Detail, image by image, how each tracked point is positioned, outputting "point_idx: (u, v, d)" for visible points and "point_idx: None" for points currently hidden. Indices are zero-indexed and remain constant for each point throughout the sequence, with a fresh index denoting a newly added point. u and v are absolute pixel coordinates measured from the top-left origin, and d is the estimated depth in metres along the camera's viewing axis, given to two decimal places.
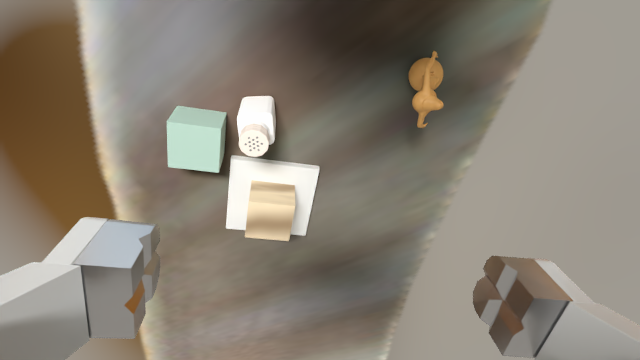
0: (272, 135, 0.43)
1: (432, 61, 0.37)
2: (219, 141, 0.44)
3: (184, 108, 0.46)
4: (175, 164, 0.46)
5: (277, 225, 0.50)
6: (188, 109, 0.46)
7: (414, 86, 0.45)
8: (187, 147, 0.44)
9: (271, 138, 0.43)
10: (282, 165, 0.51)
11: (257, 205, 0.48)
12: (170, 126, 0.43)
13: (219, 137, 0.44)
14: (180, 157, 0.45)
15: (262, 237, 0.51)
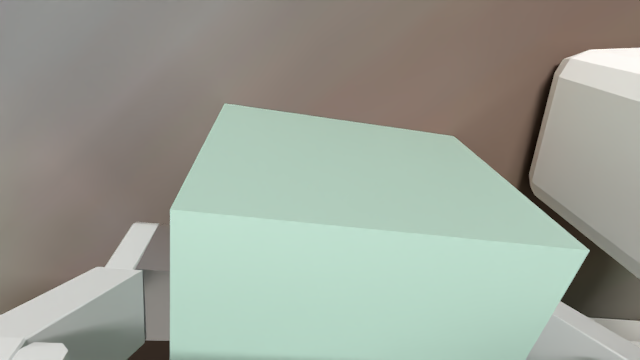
0: None
1: None
2: (535, 328, 0.06)
3: (264, 117, 0.09)
4: None
5: None
6: (285, 122, 0.09)
7: None
8: None
9: None
10: None
11: None
12: (203, 244, 0.05)
13: (550, 306, 0.06)
14: None
15: None
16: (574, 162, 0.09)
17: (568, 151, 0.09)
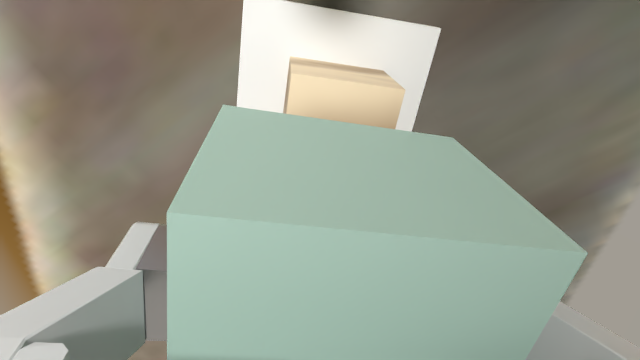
0: None
1: None
2: (533, 331, 0.06)
3: (262, 118, 0.09)
4: None
5: None
6: (284, 123, 0.09)
7: None
8: None
9: None
10: (360, 16, 0.23)
11: (313, 84, 0.19)
12: (200, 247, 0.05)
13: (548, 309, 0.06)
14: None
15: None
16: None
17: None
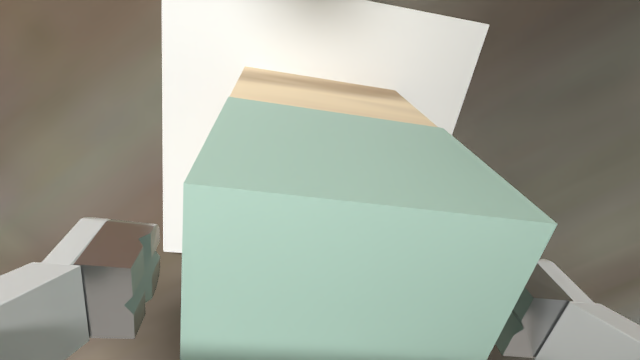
0: None
1: None
2: (511, 298, 0.07)
3: (265, 109, 0.09)
4: None
5: None
6: (285, 113, 0.09)
7: None
8: (308, 340, 0.07)
9: None
10: (360, 2, 0.14)
11: None
12: (211, 215, 0.06)
13: (523, 276, 0.07)
14: None
15: None
16: None
17: None
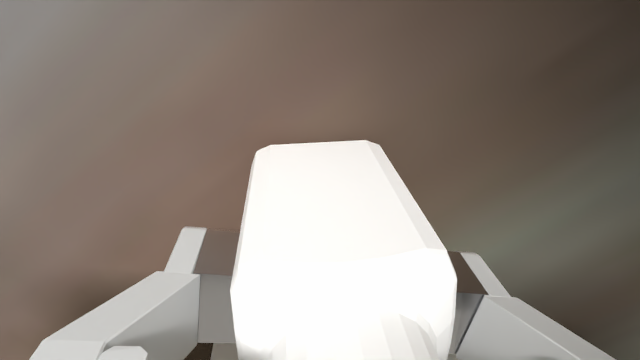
0: None
1: None
2: None
3: None
4: None
5: None
6: None
7: None
8: None
9: None
10: None
11: None
12: None
13: None
14: None
15: None
16: None
17: None
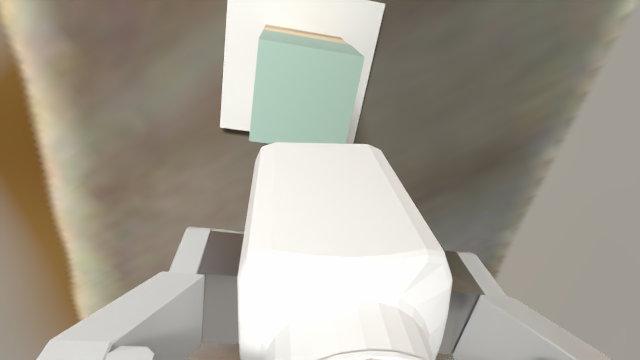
0: None
1: None
2: (356, 85, 0.22)
3: (277, 33, 0.25)
4: (263, 135, 0.23)
5: None
6: (285, 34, 0.24)
7: None
8: (292, 98, 0.22)
9: None
10: None
11: None
12: (265, 49, 0.21)
13: (358, 76, 0.22)
14: (274, 121, 0.23)
15: None
16: None
17: None
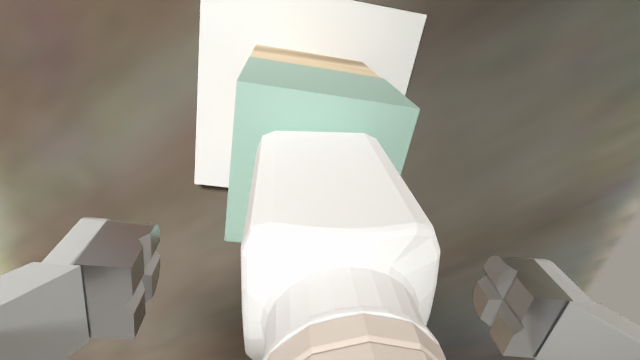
0: None
1: None
2: (403, 154, 0.13)
3: (271, 62, 0.16)
4: None
5: None
6: (284, 65, 0.16)
7: None
8: None
9: None
10: None
11: None
12: (249, 98, 0.12)
13: (407, 140, 0.13)
14: None
15: None
16: None
17: None
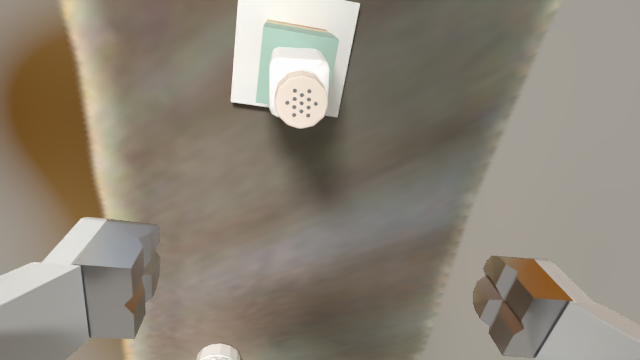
0: None
1: None
2: (333, 61, 0.31)
3: (276, 24, 0.33)
4: (266, 98, 0.31)
5: None
6: (282, 25, 0.33)
7: None
8: None
9: None
10: None
11: None
12: (268, 33, 0.29)
13: (335, 54, 0.30)
14: None
15: None
16: None
17: None
